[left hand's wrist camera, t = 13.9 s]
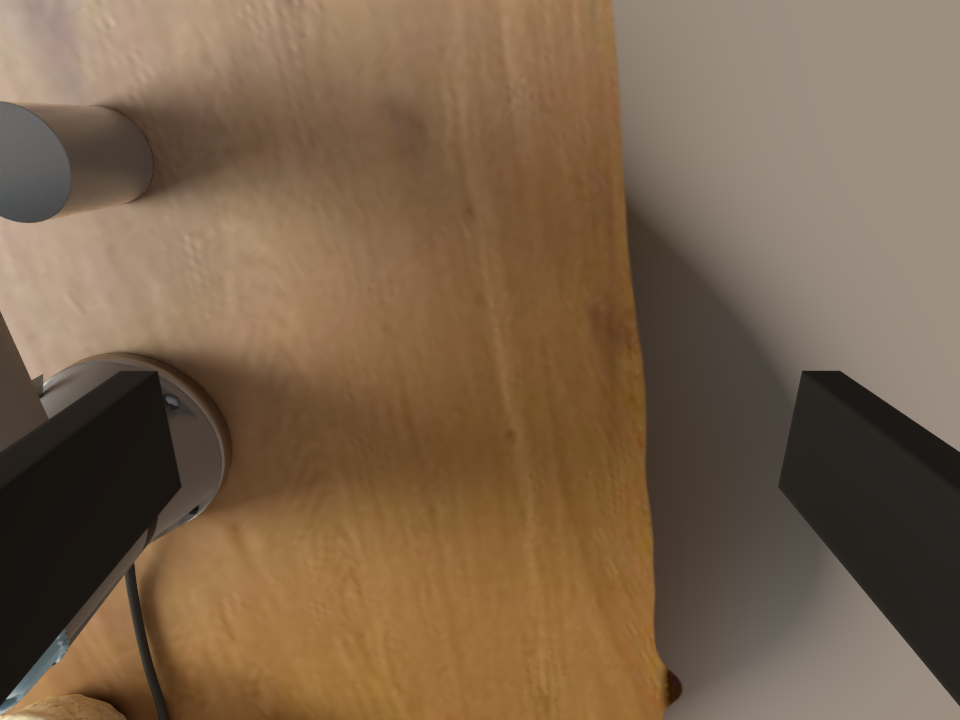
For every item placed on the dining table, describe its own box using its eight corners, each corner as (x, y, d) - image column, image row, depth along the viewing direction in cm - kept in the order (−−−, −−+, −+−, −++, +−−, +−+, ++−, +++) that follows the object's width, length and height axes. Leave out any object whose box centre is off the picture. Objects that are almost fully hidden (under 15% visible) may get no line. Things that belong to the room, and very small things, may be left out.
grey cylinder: (161, 204, 43) (83, 223, 34) (70, 203, 43) (-30, 222, 34) (144, 106, 41) (56, 101, 32) (48, 105, 40) (-65, 100, 32)
